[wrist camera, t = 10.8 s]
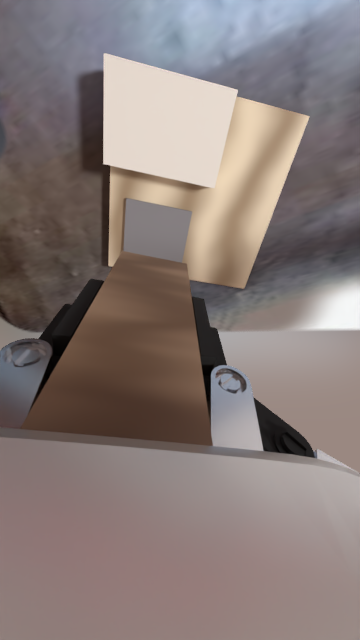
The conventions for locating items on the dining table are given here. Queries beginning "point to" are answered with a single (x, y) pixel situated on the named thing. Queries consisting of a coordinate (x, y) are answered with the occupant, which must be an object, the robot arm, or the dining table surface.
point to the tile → (164, 122)
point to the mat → (156, 230)
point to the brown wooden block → (131, 361)
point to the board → (221, 195)
